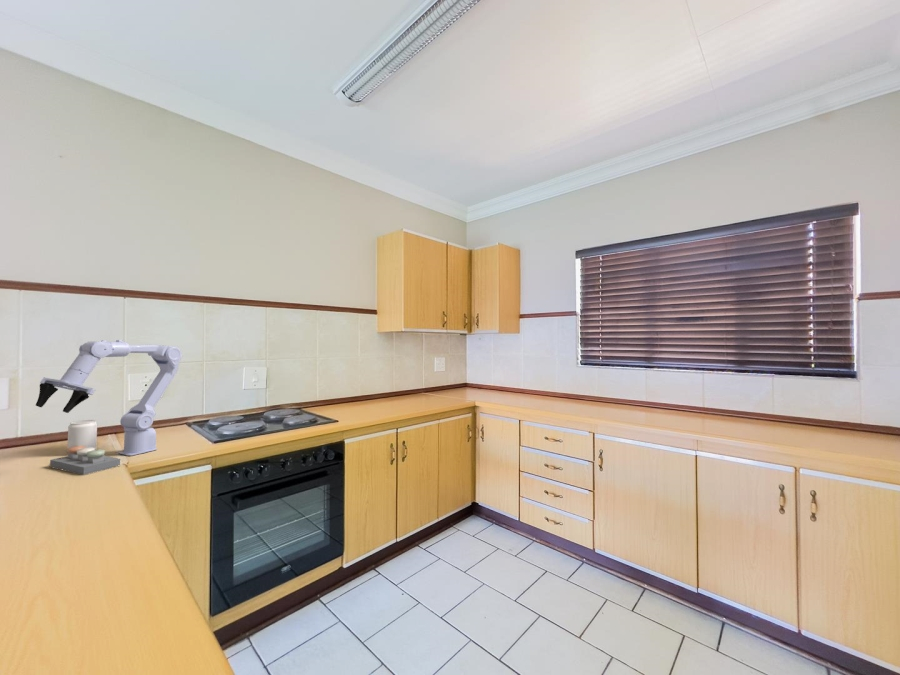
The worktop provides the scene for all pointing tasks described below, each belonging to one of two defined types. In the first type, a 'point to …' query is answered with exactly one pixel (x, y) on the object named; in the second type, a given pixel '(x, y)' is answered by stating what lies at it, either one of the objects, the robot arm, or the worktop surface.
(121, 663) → the worktop surface
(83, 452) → the cream button
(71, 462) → the button panel
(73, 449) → the terracotta button
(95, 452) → the sage button
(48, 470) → the worktop surface
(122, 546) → the worktop surface
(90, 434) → the translucent white cylinder
